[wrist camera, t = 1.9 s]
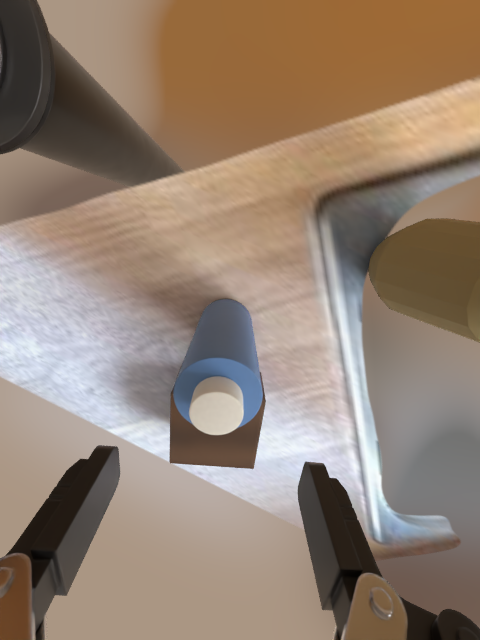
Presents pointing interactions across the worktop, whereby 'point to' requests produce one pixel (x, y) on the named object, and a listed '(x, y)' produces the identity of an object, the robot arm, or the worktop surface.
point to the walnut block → (214, 441)
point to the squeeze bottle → (432, 274)
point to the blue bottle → (220, 371)
